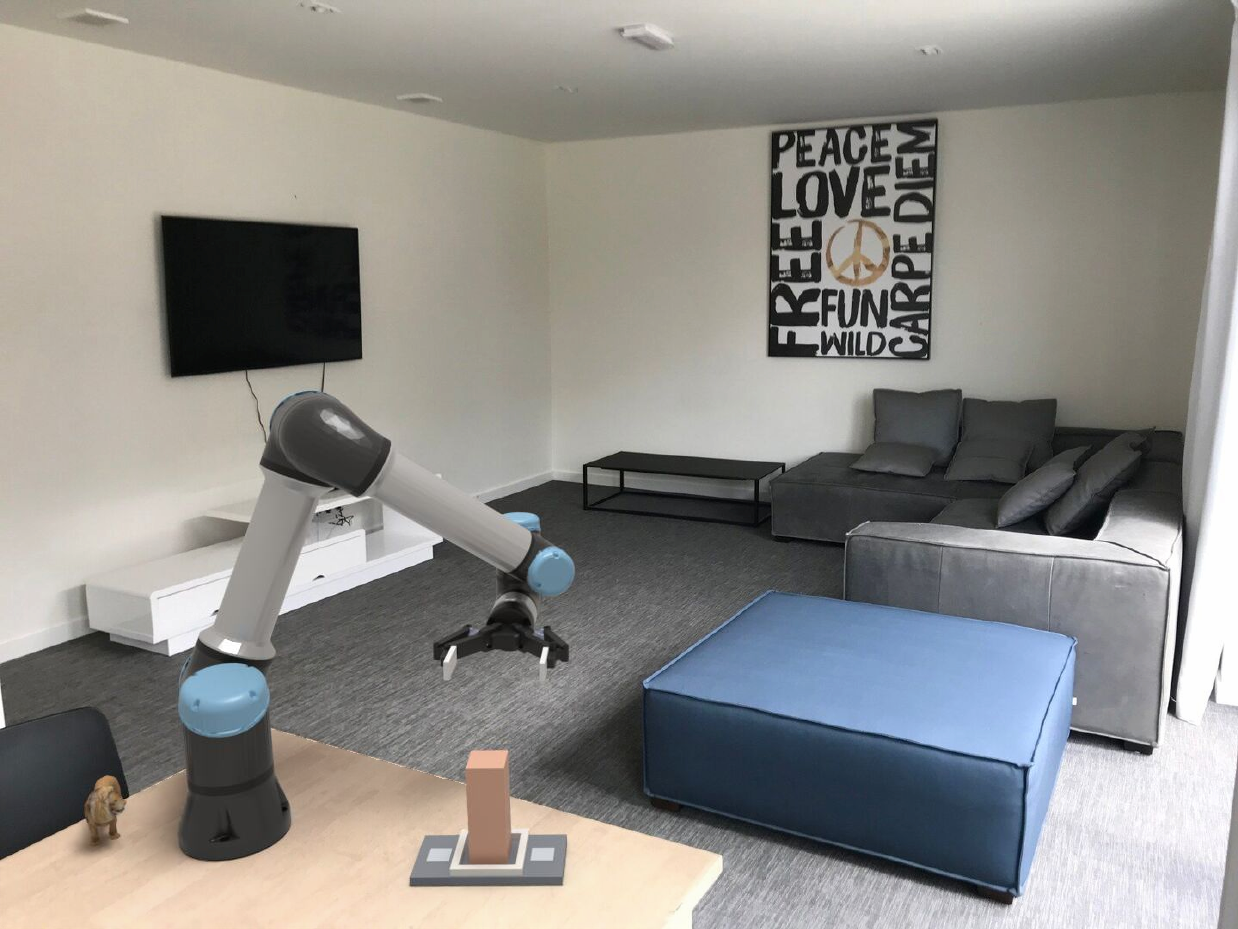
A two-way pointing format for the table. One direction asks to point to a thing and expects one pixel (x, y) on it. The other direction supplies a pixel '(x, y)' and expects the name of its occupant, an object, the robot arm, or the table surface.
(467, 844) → the base board
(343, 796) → the table surface
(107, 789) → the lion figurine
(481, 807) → the terracotta pillar
